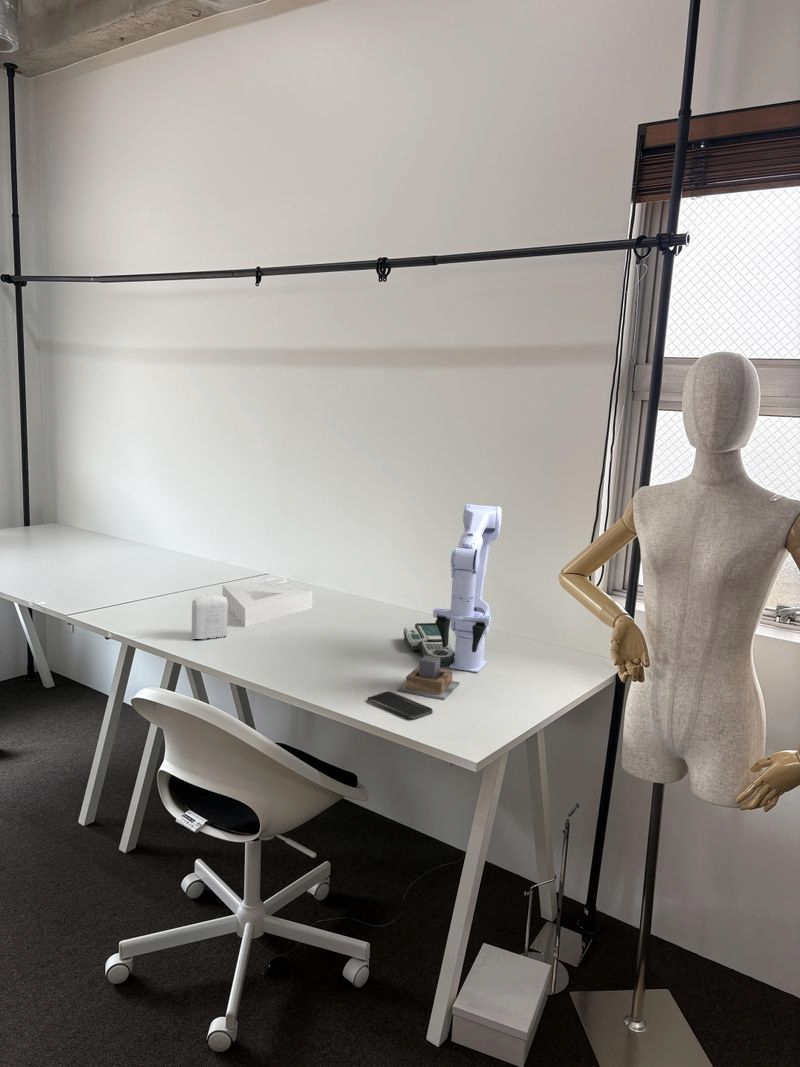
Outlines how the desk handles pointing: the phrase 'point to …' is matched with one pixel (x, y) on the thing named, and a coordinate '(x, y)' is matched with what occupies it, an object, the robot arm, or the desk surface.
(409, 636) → the communication device
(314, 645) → the desk surface
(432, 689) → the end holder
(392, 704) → the phone
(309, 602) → the triangle block
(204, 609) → the white upright block
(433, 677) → the connector plug
